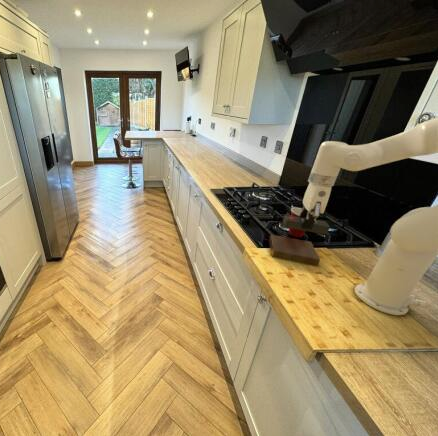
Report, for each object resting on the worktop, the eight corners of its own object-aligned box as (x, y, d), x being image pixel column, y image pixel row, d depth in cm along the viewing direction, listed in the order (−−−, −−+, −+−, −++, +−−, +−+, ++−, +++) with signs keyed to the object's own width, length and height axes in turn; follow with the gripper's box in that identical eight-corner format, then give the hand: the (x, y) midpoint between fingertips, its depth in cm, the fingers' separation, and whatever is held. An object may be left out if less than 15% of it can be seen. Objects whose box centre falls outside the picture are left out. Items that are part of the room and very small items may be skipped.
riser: (308, 247, 102) (311, 241, 101) (317, 266, 90) (320, 259, 89) (268, 240, 107) (270, 234, 105) (272, 256, 95) (274, 250, 93)
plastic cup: (312, 242, 106) (321, 218, 101) (285, 237, 109) (293, 214, 104) (305, 231, 115) (314, 209, 110) (281, 227, 118) (288, 205, 113)
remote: (322, 228, 90) (325, 221, 88) (327, 234, 85) (330, 226, 84) (282, 221, 94) (284, 214, 92) (284, 227, 89) (287, 219, 88)
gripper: (344, 187, 73) (322, 238, 81) (326, 174, 87) (309, 218, 95) (316, 184, 75) (297, 233, 83) (303, 171, 89) (289, 214, 97)
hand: (304, 224), depth 89 cm, fingers closed on remote, 5 cm apart
